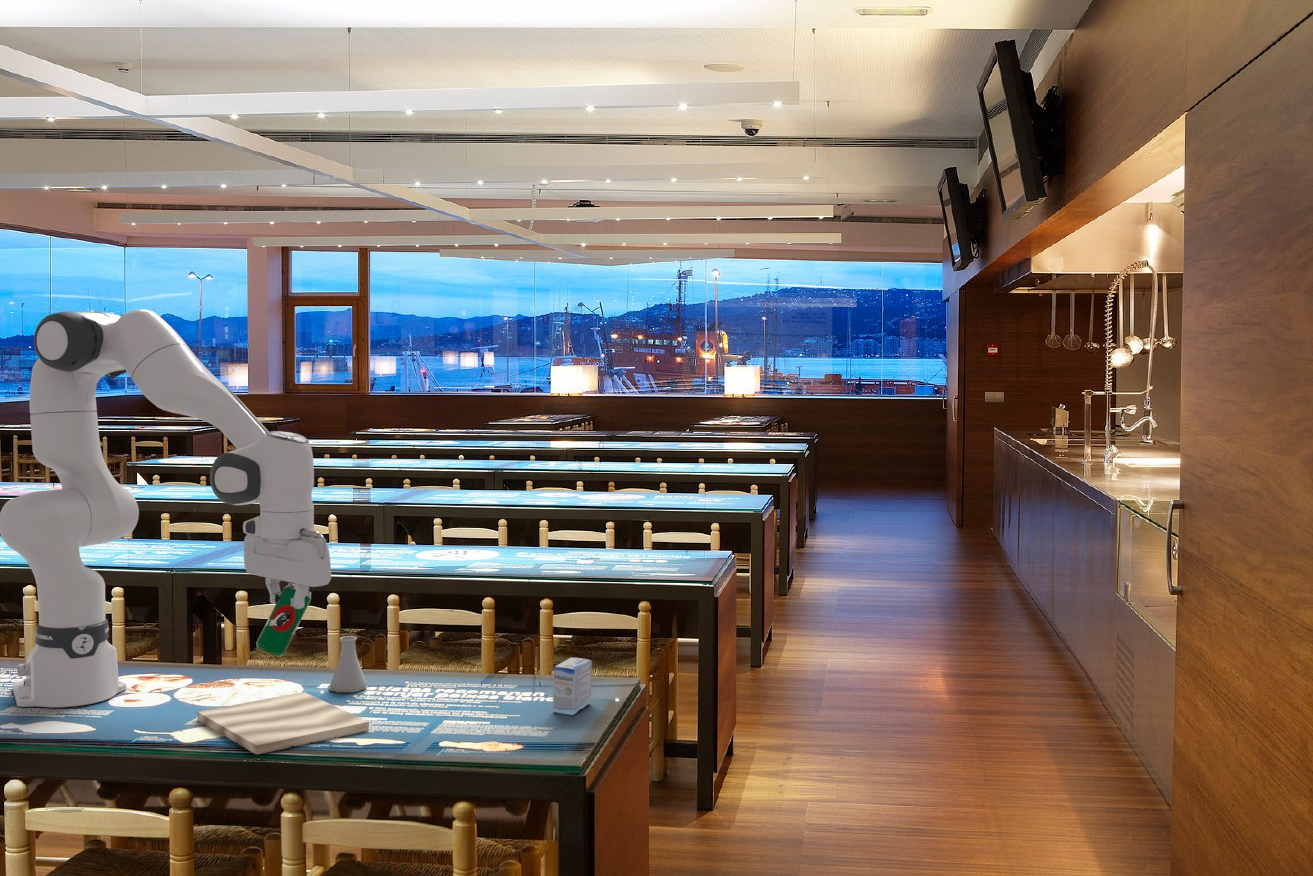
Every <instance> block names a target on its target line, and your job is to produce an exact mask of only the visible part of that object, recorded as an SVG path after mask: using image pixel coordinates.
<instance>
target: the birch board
mask: <svg viewBox="0 0 1313 876" xmlns="http://www.w3.org/2000/svg"><path fill="white" fill-rule="evenodd" d="M196 714H197V715H196V716H197V718H196V719H197V721H198V722H200V723H202V724H203V725H205V726H207V727H208V728H210V729H212V730H213V731H215V732H217V733H218V732H220V733H221V734H220V733H219V734H220V735H222V736H223V737H226V738H227V737H228V738H227V739H229V738H230V739H231V740H230V739H229V740H230V741H232V742H235V743H236V742H237V743H238V744H237V743H236V744H237V745H239V746H241V747H243V748H244V749H246V750H247V751H249V752H250V753H253V754H254V755H261V754H265V753H269V752H270V753H271V752H275V751H280V750H284V749H288V748H289V749H290V748H292V747H291V746H294V747H298V746H303V745H307V744H311V742H313V743H317V742H321V741H326V740H330V739H329V738H331V739H335V738H334V737H336V738H340V737H346V736H349V735H354V734H359V733H362V732H363V733H364V732H368V731H369V730H370V728H369V727H370V724H369V723H370V722H369V721H368V720H366V719H364V718H362V717H361V716H360V717H359V716H357V715H355V714H353V713H350V712H348V711H346V710H344V709H342V708H340V707H338V706H335V705H333V704H331V703H329V702H327V701H324V700H322V699H321V698H318V697H316V696H314V695H311V694H309V693H307V692H306V691H304V692H298V693H292V694H286V695H282V696H276V697H271V698H265V699H258V700H254V701H253V700H252V701H249V702H243V703H239V704H232V705H227V706H223V707H222V706H220V707H217V708H210V709H206V710H199V711H197V713H196Z"/></svg>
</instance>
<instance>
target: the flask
mask: <svg viewBox="0 0 1313 876" xmlns="http://www.w3.org/2000/svg"><path fill="white" fill-rule="evenodd" d="M357 639H358V638H357V636H352V635H349V636H347V635H346V636H341V637H340V638H339V642H340V652H339V658H338V661H337V665H336V668H335V671H334V674H333V675H332V676H333V677H332V679H331V681H330V684H329V688H328V691H330V692H335V693H357V692H360V691H364V690H366V688H367V686H368V683H367V680H366V678H365V674H364V671H363V670H362V667H361V664H360V661H359V658H358V654H357V650H356V649H357V648H356V641H357Z"/></svg>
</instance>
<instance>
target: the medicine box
mask: <svg viewBox="0 0 1313 876" xmlns="http://www.w3.org/2000/svg"><path fill="white" fill-rule="evenodd" d="M592 662H593V661H592V660H591V659H587V658H581V657H580V658H579V657H569V658H567V659H566V660H564V661H562V662H561V663H559V664H556V665H555V666H553V679H552V680H553V682H552V683H553V686H552V710H553V709H558V710H576V709H577V708H579V707H580V706H581V705H583V704H584V703H585V702H586V701H588V700H590V699H592V673H593V671H592V666H593V665H592Z"/></svg>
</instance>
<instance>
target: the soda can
mask: <svg viewBox="0 0 1313 876" xmlns="http://www.w3.org/2000/svg"><path fill="white" fill-rule="evenodd" d="M295 592H296V589H294V583H291V582H288V585H286V586H284V587H283V589H282V590H281V595H280V597H279V599H278V601H277V603H276V604H274V607H273V609H272V610H271V613H270V615H269V616H268V619H267V620H266V623H265V625H264V627H263V629H262V630H261V633H260V634H259V637H258V638H257V641H256V642H255V644H256V647H257V649H260V650H262V651H264V652H266V653H269V654H271V655H273V656H276V657H282V656H284V655H285V653H286V651H287V649H288V647H289V645H290V643H291V641H292V639H293V636H294V634H295V633H296V631H297V629H298V627H299V626H300V623H301V621H302V619H303V617H304V614H305V613H306V610H307V608H308V607H309V605H310V603H311V600H312V592H311V591H309V590H308V592H307V594H306V596H305V598H304V607H303V608H301V609H295V608H292V607H291V598H294V595H295Z"/></svg>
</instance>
